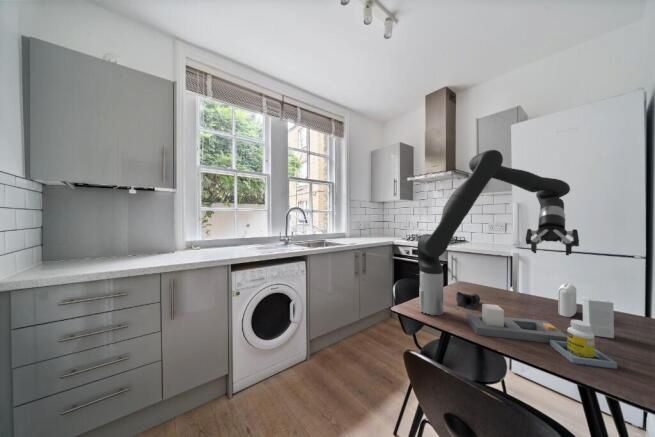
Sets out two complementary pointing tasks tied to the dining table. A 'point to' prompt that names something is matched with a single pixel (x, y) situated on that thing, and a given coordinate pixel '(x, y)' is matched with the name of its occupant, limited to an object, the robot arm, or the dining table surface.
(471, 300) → the dark piece
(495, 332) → the socket strip
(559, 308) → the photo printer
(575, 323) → the supplement bottle
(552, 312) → the dining table surface
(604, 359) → the blue-grey square frame
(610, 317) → the skincare box
